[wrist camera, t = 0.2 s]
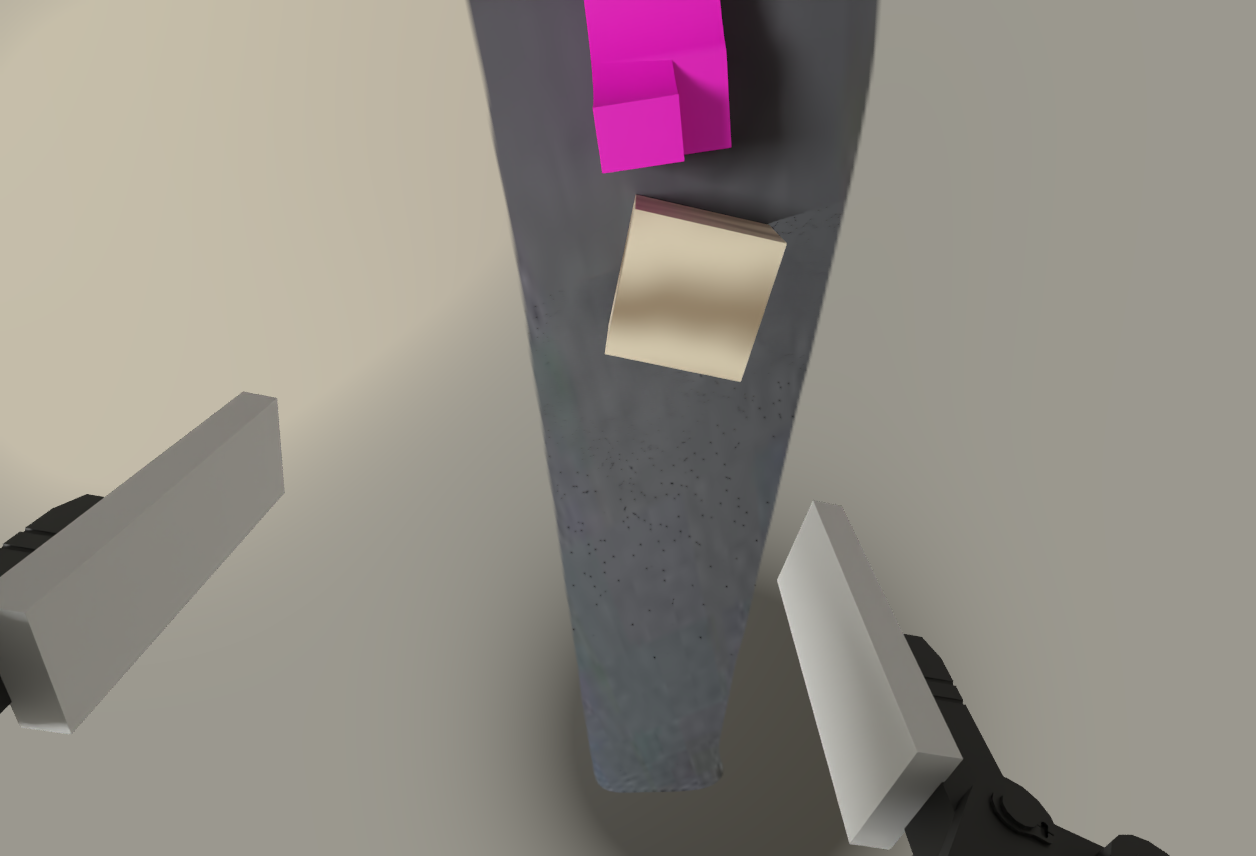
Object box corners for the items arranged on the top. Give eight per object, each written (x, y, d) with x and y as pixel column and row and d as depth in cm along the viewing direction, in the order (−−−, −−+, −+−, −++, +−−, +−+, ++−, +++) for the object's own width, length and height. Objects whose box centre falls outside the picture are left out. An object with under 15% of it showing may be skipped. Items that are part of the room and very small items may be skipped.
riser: (635, 194, 35) (635, 209, 31) (768, 224, 36) (786, 243, 31) (608, 324, 39) (604, 353, 34) (729, 349, 39) (740, 381, 35)
